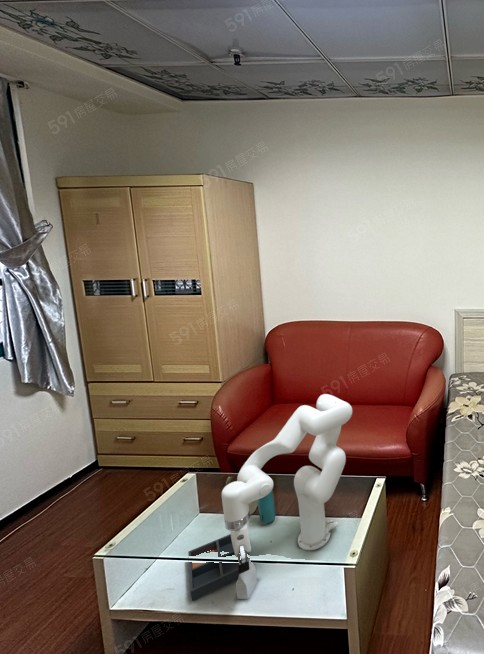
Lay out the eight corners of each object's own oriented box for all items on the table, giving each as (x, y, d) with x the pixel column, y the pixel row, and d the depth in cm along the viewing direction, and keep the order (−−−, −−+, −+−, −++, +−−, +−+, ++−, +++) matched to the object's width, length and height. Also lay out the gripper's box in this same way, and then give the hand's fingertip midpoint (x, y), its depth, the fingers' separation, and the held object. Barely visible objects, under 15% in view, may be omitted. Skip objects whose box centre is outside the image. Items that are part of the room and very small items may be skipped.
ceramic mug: (246, 520, 175) (244, 505, 173) (232, 515, 178) (230, 499, 176) (265, 503, 184) (264, 489, 183) (252, 498, 187) (250, 484, 186)
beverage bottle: (279, 515, 178) (274, 475, 173) (271, 527, 171) (266, 486, 167) (265, 514, 178) (260, 474, 174) (256, 526, 172) (251, 485, 167)
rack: (245, 536, 167) (244, 528, 166) (253, 572, 151) (252, 563, 150) (189, 560, 156) (188, 551, 155) (191, 601, 141) (190, 591, 140)
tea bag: (257, 580, 148) (254, 558, 146) (248, 599, 141) (244, 575, 139) (247, 580, 148) (244, 557, 146) (237, 598, 141) (234, 575, 139)
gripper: (253, 530, 133) (258, 574, 137) (245, 498, 147) (250, 538, 151) (227, 541, 129) (233, 585, 132) (222, 507, 143) (227, 548, 146)
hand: (242, 560), depth 141 cm, fingers open, 9 cm apart
